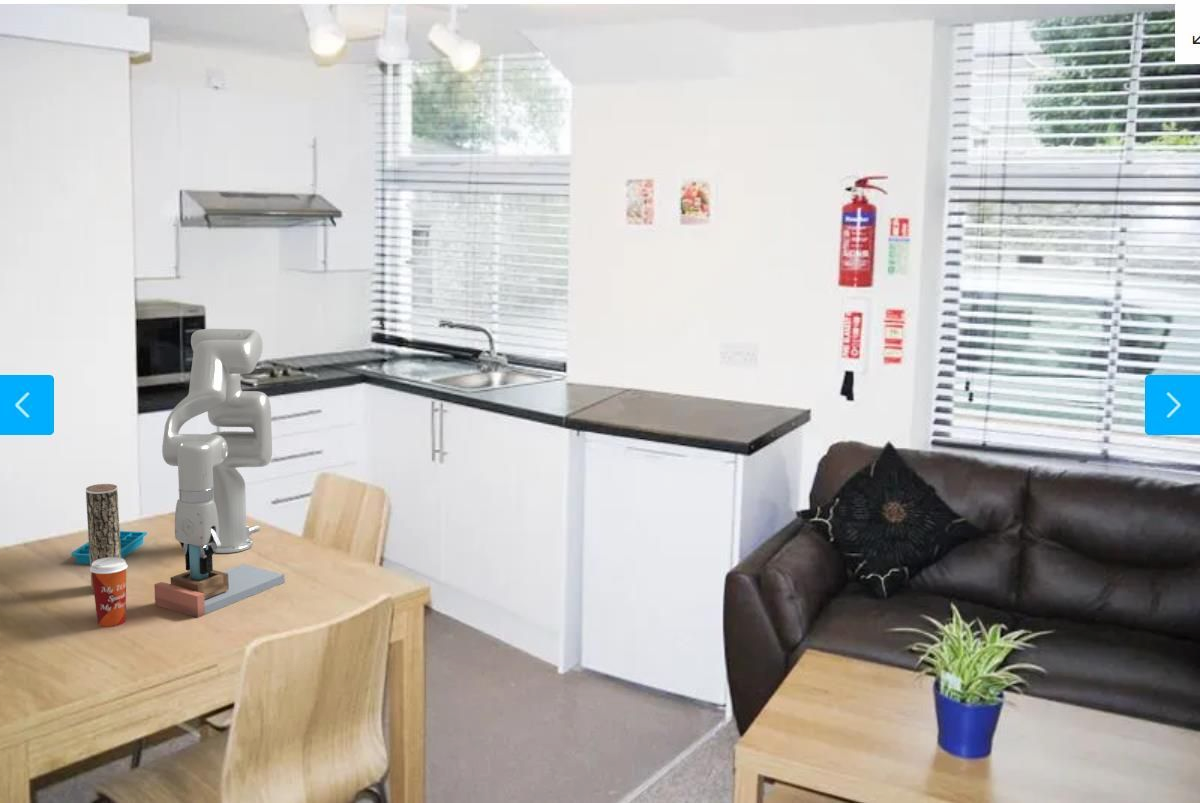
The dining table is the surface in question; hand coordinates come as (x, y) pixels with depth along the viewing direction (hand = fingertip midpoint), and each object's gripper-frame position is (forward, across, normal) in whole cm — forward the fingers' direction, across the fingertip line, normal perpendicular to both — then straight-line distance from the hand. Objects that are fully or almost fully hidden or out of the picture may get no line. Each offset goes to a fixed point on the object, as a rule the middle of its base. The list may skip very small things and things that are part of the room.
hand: (199, 570), depth 258 cm
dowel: (+3, 0, 0) cm, 3 cm away
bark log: (+8, -25, -6) cm, 27 cm away
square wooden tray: (+5, 0, 0) cm, 5 cm away
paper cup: (+8, -7, -19) cm, 22 cm away
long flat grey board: (+8, 0, +7) cm, 10 cm away
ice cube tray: (+8, -46, +12) cm, 49 cm away
